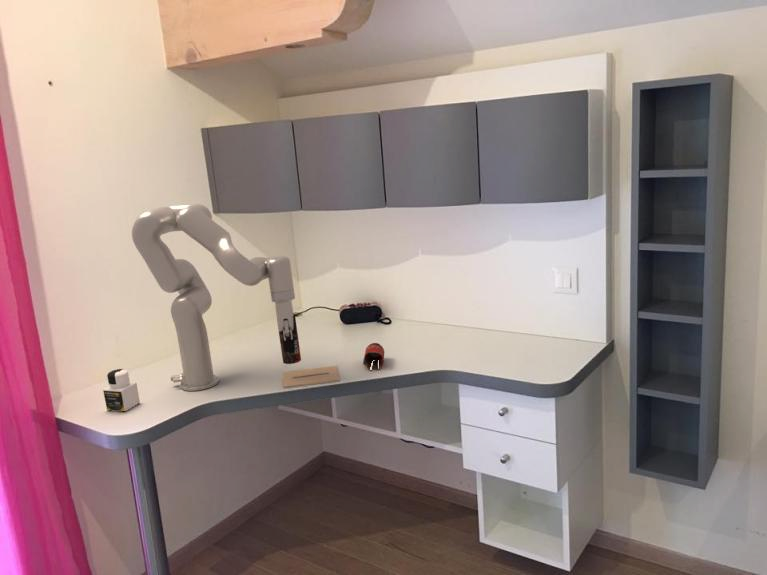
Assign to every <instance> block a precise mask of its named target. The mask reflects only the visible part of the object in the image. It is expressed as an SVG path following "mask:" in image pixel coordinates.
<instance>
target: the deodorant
mask: <svg viewBox="0 0 767 575" xmlns="http://www.w3.org/2000/svg"><path fill="white" fill-rule="evenodd" d="M296 319H297V318H296V314H295V315H294V314H293V321H294V329H293V330H292V337H293V339H294V345H295V351H292V352H285V347H284V334H283V330H282V331H281V332H279V331H278V335H279V336H278V337H279V343H280V349H281V357H282V363H283V364H285V365H292V364H298V363H299V362H301V361H302V355H301V348H300V342H299V335H298V328H297V320H296ZM289 330H290V328H289ZM284 331H285V329H284ZM289 333H290V332H289Z"/></svg>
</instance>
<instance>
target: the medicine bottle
mask: <svg viewBox="0 0 767 575" xmlns="http://www.w3.org/2000/svg"><path fill="white" fill-rule="evenodd" d="M106 377H107V382H108V386H107V387H105V388H103V390H102V391H103V396H104V401H105V406H106V407H105V408H106V411H108V410H112V411H111V412H118V411H126V410H127V411H129V410H131V409H132V408H131V407H133V406H134V407H136V406H137V404H138V403H139V404H140V403H141V402H140V401H141V400H140V394H139V389H138V384H137V382H134V381H133V382H132V381H130V376H129V371H128V369H125V368H118V369H114V370H110V371H109V372H108V373H107V375H106ZM139 404H138V405H139ZM135 405H136V406H135ZM134 407H133V408H134ZM130 408H131V409H130ZM128 409H129V410H128ZM127 411H126V412H127Z"/></svg>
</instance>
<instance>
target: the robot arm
mask: <svg viewBox="0 0 767 575" xmlns="http://www.w3.org/2000/svg"><path fill="white" fill-rule="evenodd" d="M172 232H183V233H185V234H186V235H187V236H188V237H190V238H191V239H193V240H194V241H195V242H197V243H198V244H200V245H201V246H202V247H203V249H205V250H207V251H208V252H210V253H211V254H212V256H213V257H214V259H215V260H216V261H217V263H218V264H219V266H220V267H221V268H222V269H223V270H224V271H225V272H226V273H228V274H229V275H230V276H232V278H234V279H235V280H237V281H238V282H239V283H241V284H242V285H245V286H249V287H254V286H256V285H258V284H260V283H261V282H262V281H264V280H266V279H268V285H269V291H270V292H269V293H270V298H271V302H272V303H274V305H275V306H274V307H275V313H276V315H275V316H276V323H277V329H278V333H279V332H281V331H282V330H283V334H284V347H285V352H292V351H295V345H294V339H293V337H292V330H293V329H294V321H293V315H294V309H293V301H294V300H295V299H296V295H295V289H294V281H293V274H292V273H293V272H292V266H291V260H290V258H289V257H287V256H285V255H283V256H282V255H279V256H274V257H262V256H261V257H260V256H256V257H253V258H251V259H248V258H247V257H246V256H244V255H243V254H242V253H241V252H240V251H238V249H237V248H236V247H235V246H234V244H233V242H232V238H231V237H232V236H231V234H230V232H228V231H227V229H225V228H224V227H223V226H221V225H220V224H218V223H217V222H215V220H213V215H212V212H211V211H210V209H209V208H208V207H207V206H206V205H203V204H199V203H195V204H182V205H168V206H160V207H157V208H152V209H148V210H146V211H145V212H143V213H141V214H140V215H139V216H138V217H137V218H136V219H135V221H134V222H133V225H132V229H131V237H132V238H131V239H132V242H133V244H134V246H135V248H136V250H137V251H138V253H139V254H140V256H141V257H142V259H143V261H144V262H145V264H146V265H147V267H148V269H149V271H150V273H151V275H152V276H153V277H154V279H155V281H156V283H157V284H158V286H159V287H160V288H161V290H162V291H163V292H165V293H168V294H171V293H177V292H178V294H179V295H178V296H176V297H175V298H174V300H173V301H172V303H171V307H170V315H171V318H172V322H173V323H174V326H175V332H176V337H177V343H178V348H179V355H180V360H181V361H180V362H181V367H182V373H180V374H175V375H170V381H171V382H173V384H174V383H175V384H176V383H179V382H180V384H179V385H180V389H181V390H184V391H186V392H187V391H188V392H196V391H202V390H207V389H210V388H212V387H214V386H216V385H217V384H218V383H219V382H220V377H219V376H218V375H216V374H214V369H213V363H212V361H213V360H212V356H211V349H210V343H209V337H208V330H207V327H206V324H205V321H204V316H203V315H204V314H205V313H207V312H208V311H209V310H210V308H211V306H212V303H213V302H212V300H213V299H212V296H211V293H210V291H209V289H208V288H207V286H206V284H205V282H204V281H203V279H202V277H201V275H200V273H199V272H198V270H197V268H195V266H194V265H193V264H192V263H191V262H190V261H188V260H187V259H184V258H175V257H174V254H173V253H172V251H171V249H170V248H169V246H167V244H166V243H165V242H164V241H163V240H162V239H161V237H162V235H165V234H168V233H172ZM289 328H290V330H289ZM284 329H285V331H284ZM289 332H290V333H289Z"/></svg>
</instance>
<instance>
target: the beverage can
mask: <svg viewBox="0 0 767 575" xmlns="http://www.w3.org/2000/svg"><path fill="white" fill-rule="evenodd" d="M373 360H379V369H378V370H377V371H379V370H380V369H382V367H384V361H385V349H384V347H383V346H382V345H381V344H380V343H378V342H372V343H370V344H369V345H367V347H366V348H365V352H364V356H363V362H362V365H364V367H365V368H367V369H368V371H371V370H370V367H371V363H372V361H373Z"/></svg>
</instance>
